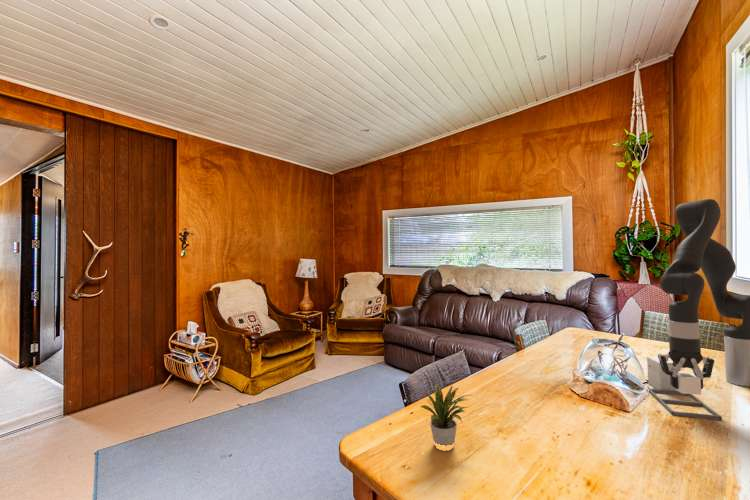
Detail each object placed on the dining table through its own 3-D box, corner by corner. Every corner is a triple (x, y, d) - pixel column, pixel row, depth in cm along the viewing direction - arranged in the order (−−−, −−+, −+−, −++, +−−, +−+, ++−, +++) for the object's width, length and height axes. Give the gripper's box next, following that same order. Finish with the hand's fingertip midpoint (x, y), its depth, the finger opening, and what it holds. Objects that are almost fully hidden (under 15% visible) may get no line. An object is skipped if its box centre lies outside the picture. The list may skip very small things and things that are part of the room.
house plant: (461, 470, 83) (458, 401, 84) (409, 455, 91) (407, 391, 91) (478, 443, 95) (475, 382, 96) (430, 431, 103) (428, 375, 103)
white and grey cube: (673, 387, 114) (672, 371, 114) (691, 388, 113) (690, 372, 113) (681, 393, 110) (681, 376, 110) (701, 394, 108) (700, 378, 108)
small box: (678, 392, 125) (676, 363, 125) (660, 392, 126) (659, 362, 126) (664, 384, 133) (663, 356, 133) (647, 384, 134) (646, 356, 134)
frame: (637, 381, 137) (637, 379, 137) (676, 384, 132) (675, 382, 132) (672, 414, 108) (671, 411, 108) (721, 420, 104) (721, 416, 104)
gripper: (706, 334, 113) (709, 387, 112) (652, 331, 118) (654, 382, 117) (719, 339, 106) (722, 396, 105) (661, 336, 111) (663, 390, 110)
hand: (686, 388), depth 111 cm, fingers closed on white and grey cube, 5 cm apart
